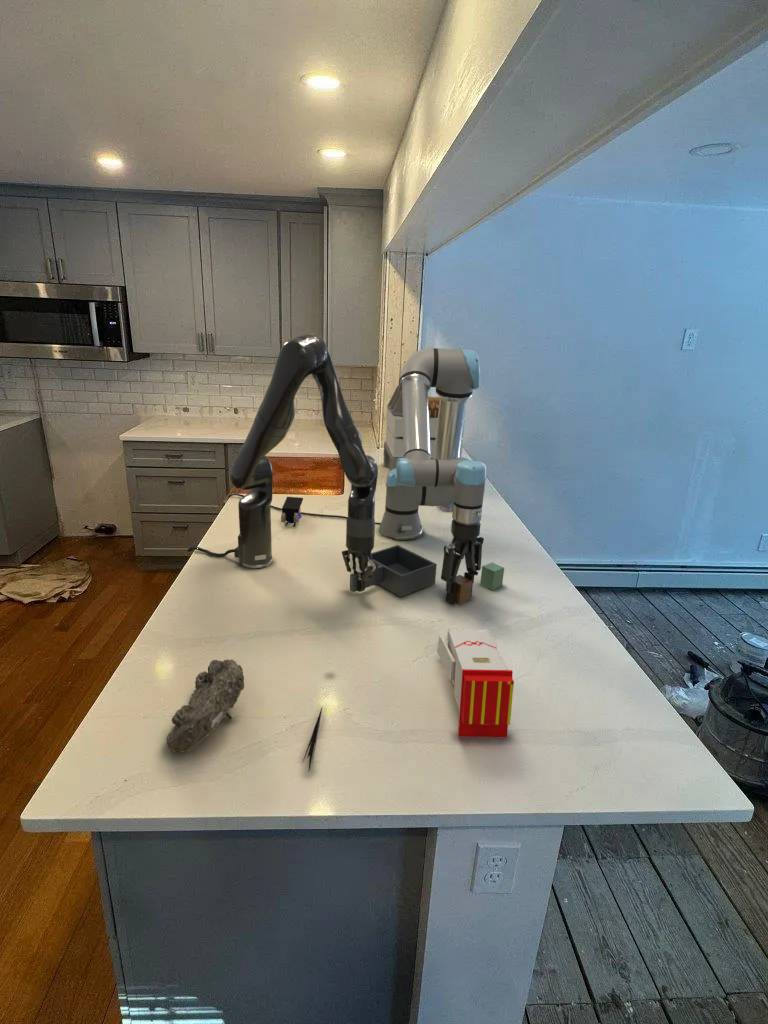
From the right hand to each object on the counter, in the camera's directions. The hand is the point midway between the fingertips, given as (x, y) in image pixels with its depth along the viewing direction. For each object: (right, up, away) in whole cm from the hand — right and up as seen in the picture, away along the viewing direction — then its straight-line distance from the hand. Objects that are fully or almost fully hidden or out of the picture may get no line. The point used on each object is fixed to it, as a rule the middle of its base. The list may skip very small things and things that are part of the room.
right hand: (458, 598), depth 156 cm
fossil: (-53, -15, -48) cm, 73 cm away
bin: (-20, +3, +6) cm, 21 cm away
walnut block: (0, 0, 0) cm, 0 cm away
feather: (-33, -16, -48) cm, 60 cm away
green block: (+11, +2, +9) cm, 14 cm away
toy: (-3, -14, -38) cm, 40 cm away
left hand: (-28, +3, -1) cm, 28 cm away
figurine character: (-54, +20, +50) cm, 76 cm away
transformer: (-3, +43, +119) cm, 126 cm away
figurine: (+6, +25, +72) cm, 76 cm away
